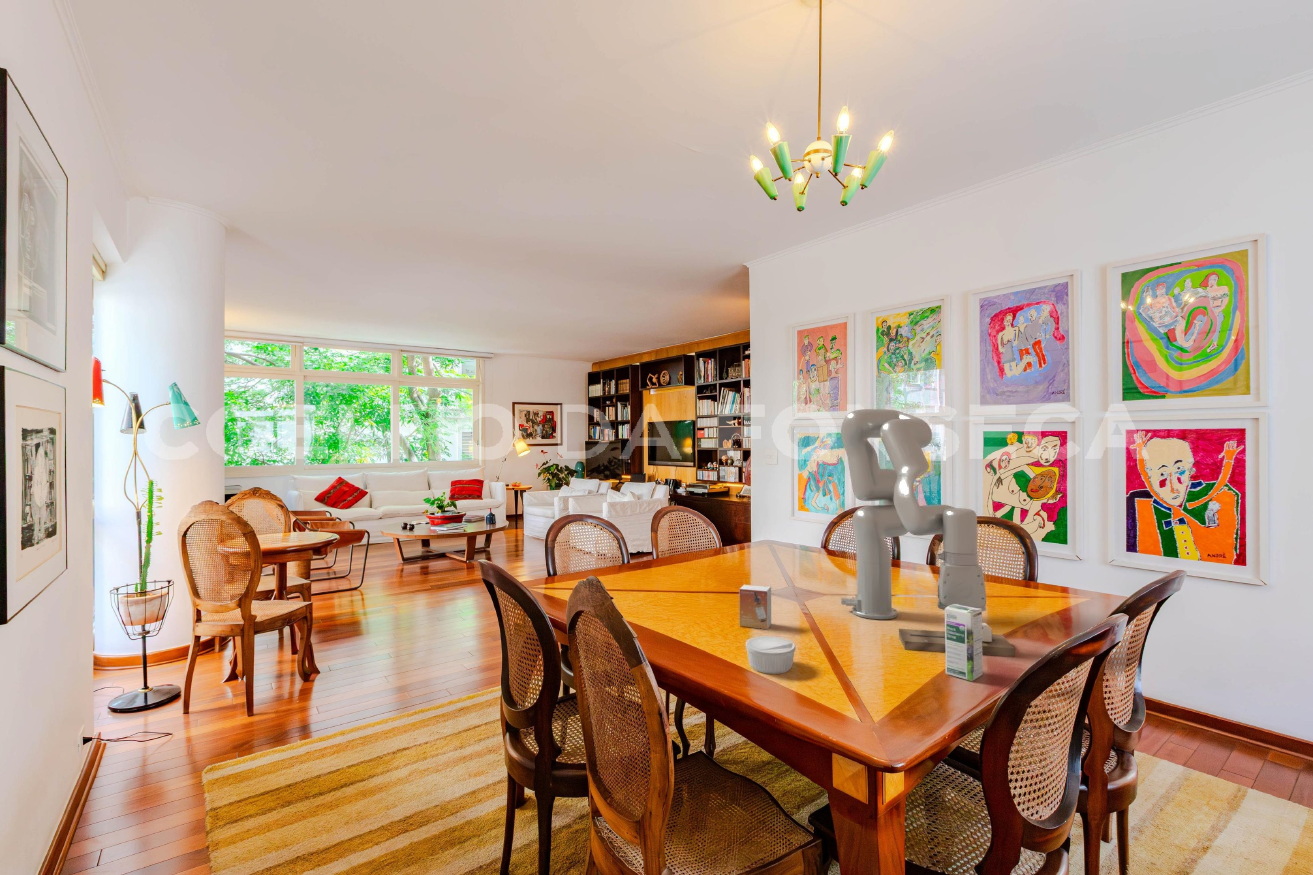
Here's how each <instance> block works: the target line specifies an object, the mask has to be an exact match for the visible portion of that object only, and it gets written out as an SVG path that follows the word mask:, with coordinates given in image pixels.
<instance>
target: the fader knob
mask: <svg viewBox="0 0 1313 875" xmlns="http://www.w3.org/2000/svg"><path fill="white" fill-rule="evenodd" d="M992 634H993V632H992V628H991V627H990V626H989V625H988V624H987V622H982V641H987V642H992Z"/></svg>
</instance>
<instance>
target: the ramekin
mask: <svg viewBox="0 0 1313 875" xmlns="http://www.w3.org/2000/svg"><path fill="white" fill-rule="evenodd" d="M745 649H746V653H747V660H748V664H749V666H750V667H751V669H753V670H754V671H756V672H759V673H763V674H767V675H770V674H771V675H777V674H778V675H779V674H780V675H781V674H784V673H787V672H789V671H790V670H791V668H792V667H793V663H794V657H795V652H796V645H795V643H794V642H793V641H792V640H790V639H787V638H785V637H782V636H781V637H780V636H773V635H760V636H755V637H751V638H748V639H747V640H746V641H745Z"/></svg>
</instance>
